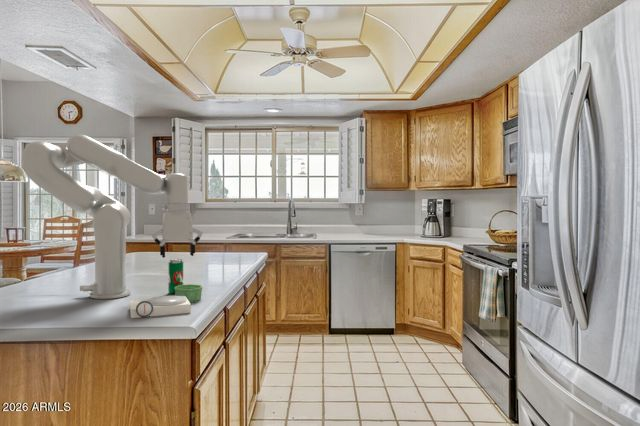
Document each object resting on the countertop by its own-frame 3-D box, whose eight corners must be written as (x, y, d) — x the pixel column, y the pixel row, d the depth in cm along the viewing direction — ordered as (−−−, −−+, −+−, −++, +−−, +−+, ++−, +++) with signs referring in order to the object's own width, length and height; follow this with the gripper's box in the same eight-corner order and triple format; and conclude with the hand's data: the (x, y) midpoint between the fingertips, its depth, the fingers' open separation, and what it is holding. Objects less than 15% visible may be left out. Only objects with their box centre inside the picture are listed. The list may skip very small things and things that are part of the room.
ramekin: (194, 303, 134) (194, 290, 134) (168, 302, 135) (168, 288, 135) (207, 297, 142) (207, 284, 142) (183, 296, 144) (183, 283, 144)
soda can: (170, 291, 151) (170, 258, 151) (184, 291, 152) (184, 258, 151) (166, 294, 146) (166, 260, 146) (181, 294, 147) (181, 260, 146)
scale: (130, 318, 115) (130, 302, 115) (130, 308, 126) (130, 293, 126) (191, 313, 121) (191, 297, 121) (185, 303, 133) (185, 289, 133)
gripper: (151, 209, 141) (152, 259, 142) (203, 208, 149) (204, 255, 149) (150, 208, 148) (151, 256, 148) (200, 208, 155) (201, 253, 156)
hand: (177, 256), depth 149 cm, fingers open, 9 cm apart
